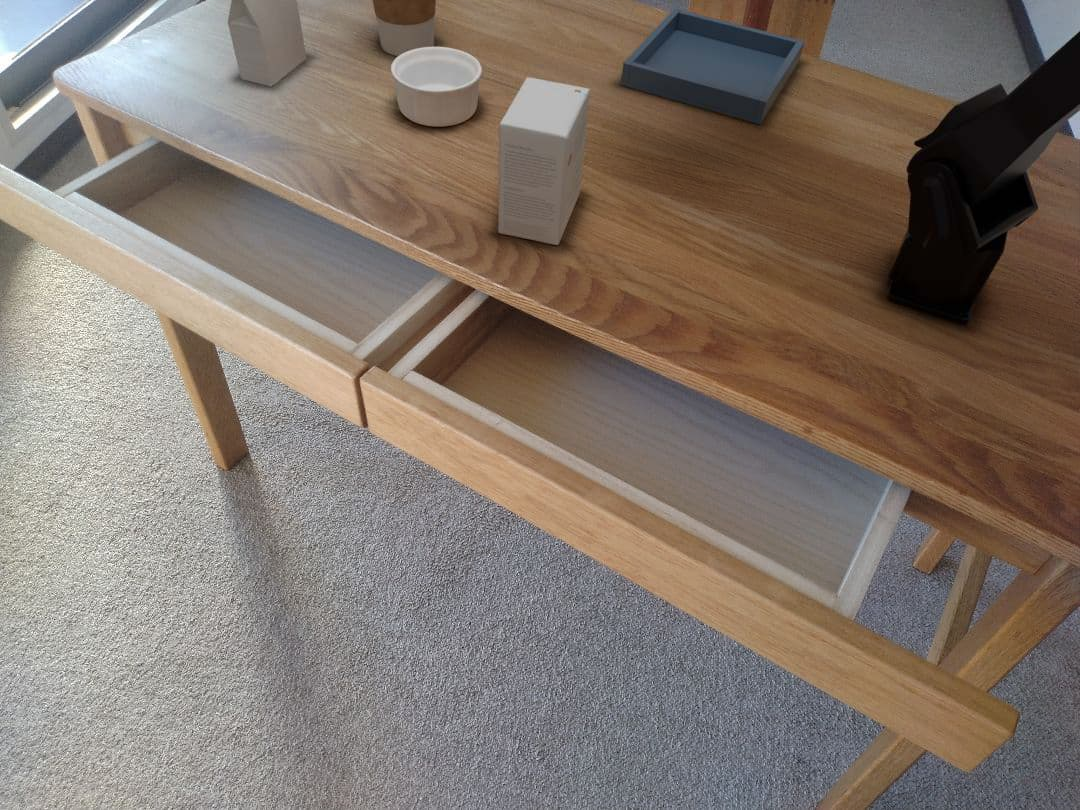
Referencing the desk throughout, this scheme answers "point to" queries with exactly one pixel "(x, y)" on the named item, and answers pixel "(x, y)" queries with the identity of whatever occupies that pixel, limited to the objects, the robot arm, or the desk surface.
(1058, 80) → the robot arm
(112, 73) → the desk surface
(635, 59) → the tray
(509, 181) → the small box
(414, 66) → the ramekin
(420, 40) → the coffee cup
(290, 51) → the grey carton
